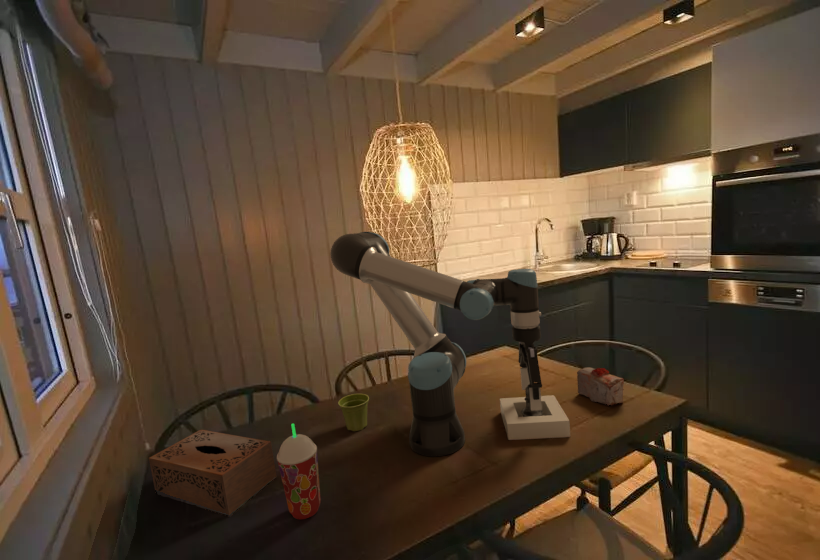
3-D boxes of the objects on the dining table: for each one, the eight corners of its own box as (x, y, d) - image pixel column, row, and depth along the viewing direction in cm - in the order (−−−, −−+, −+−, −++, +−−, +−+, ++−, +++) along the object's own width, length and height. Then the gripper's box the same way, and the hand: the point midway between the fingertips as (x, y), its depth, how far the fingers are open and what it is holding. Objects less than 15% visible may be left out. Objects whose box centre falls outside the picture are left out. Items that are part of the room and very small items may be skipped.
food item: (629, 403, 121) (628, 371, 120) (610, 410, 118) (608, 378, 117) (591, 389, 134) (590, 360, 132) (573, 395, 130) (572, 365, 129)
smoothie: (328, 496, 93) (316, 413, 90) (321, 522, 84) (308, 431, 82) (291, 500, 93) (278, 417, 90) (281, 526, 84) (266, 436, 82)
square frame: (508, 439, 108) (507, 424, 108) (500, 412, 124) (499, 398, 123) (570, 436, 106) (569, 420, 106) (554, 409, 122) (553, 395, 122)
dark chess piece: (541, 418, 118) (538, 378, 116) (545, 428, 112) (543, 386, 110) (520, 419, 118) (517, 380, 117) (524, 429, 113) (521, 388, 111)
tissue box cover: (276, 478, 102) (270, 441, 101) (229, 517, 89) (222, 475, 88) (206, 463, 113) (200, 429, 112) (156, 495, 101) (148, 458, 99)
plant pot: (375, 430, 121) (371, 402, 120) (343, 437, 119) (339, 409, 118) (369, 417, 130) (366, 391, 129) (340, 423, 128) (336, 397, 127)
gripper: (551, 336, 99) (556, 418, 101) (530, 314, 123) (535, 381, 126) (519, 338, 100) (525, 420, 102) (505, 316, 124) (510, 382, 127)
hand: (531, 398), depth 114 cm, fingers open, 13 cm apart
